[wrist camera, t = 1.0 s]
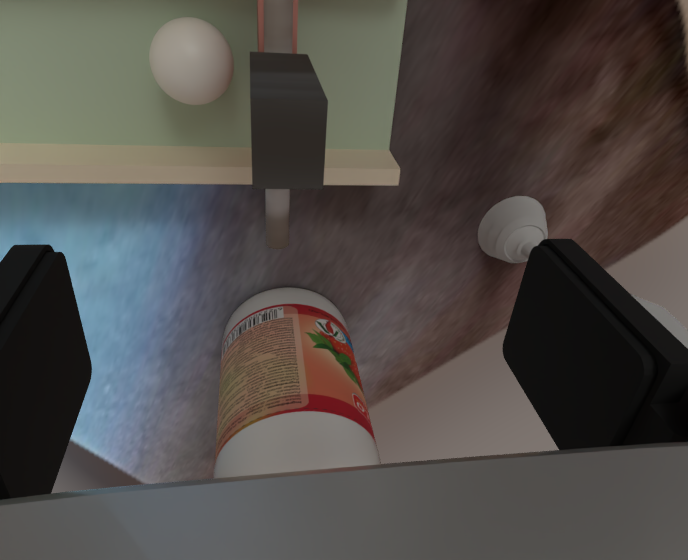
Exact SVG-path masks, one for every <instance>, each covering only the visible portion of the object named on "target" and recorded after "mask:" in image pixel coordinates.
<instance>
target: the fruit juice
mask: <svg viewBox="0 0 688 560" xmlns="http://www.w3.org/2000/svg"><path fill="white" fill-rule="evenodd" d="M378 464H381V462H380V457H379V453H378V449H377V445H376V442H375V439H374V434H373V430H372V426H371V422H370V417H369V413H368V409H367V405H366V401H365V397H364V393H363V388H362V384H361V380H360V376H359V372H358V368H357V364H356V360H355V356H354V352H353V347H352V343H351V339H350V335H349V331H348V328H347V325H346V323H345V320H344V318H343V316H342V314H341V313H340V311H339V310H338V309H337V308H336V306H335V305H334V304H333V303H332V302H330V301H329V300H328V299H326V298H325V297H323V296H322V295H320V294H318V293H315V292H313V291H310V290H306V289H301V288H292V287H285V288H276V289H271V290H267V291H264V292H261V293H259V294H257V295H255V296H253V297H251V298H249V299H248V300H246V301H245V302H244V303H242V304H241V305H240V306H239V307H238V308H237V309H236V310H235V312H234V313H233V314H232V316H231V317H230V319H229V321H228V323H227V325H226V328H225V331H224V335H223V340H222V354H221V371H220V387H219V404H218V421H217V438H216V455H215V467H214V478H225V477H236V476H248V475H259V474H271V473H282V472H293V471H305V470H317V469H329V468H341V467H353V466H366V465H378Z"/></svg>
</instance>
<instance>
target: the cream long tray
mask: <svg viewBox="0 0 688 560" xmlns="http://www.w3.org/2000/svg"><path fill="white" fill-rule="evenodd" d="M406 9H407V0H298V27H297V54H308V56H309V59H310V61H311V63H312V66H313V68H314V70H315V72H316V75H317V77H318V79H319V82H320V84H321V86H322V88H323V91H324V93H325V95H326V97H327V100H328V110H327V128H326V147H325V165H324V183H323V185H393V186H398V184H399V177H400V170H401V169H400V167H399V166H398V164H397V162H396V161H395V159H394V157H393V156H392V154H391V152H390V151H389V146H390V138H391V130H392V122H393V114H394V105H395V97H396V89H397V81H398V73H399V65H400V57H401V49H402V41H403V33H404V25H405V17H406ZM181 17H194V18H198V19H201V20H204V21H206V22H208V23H210V24H211V25H213V26H214V27H216V28H217V29H218V30H219V31H220V32H221V33H222V35H223V36H224V37H225V39H226V40H227V42H228V44H229V46H230V48H231V51H232V55H233V60H234V71H233V76H232V80H231V82H230V84H229V86H228V88H227V90H226V91H225V92H224V93H223V94H222V95H221V96H220V97H219V98H217V99H216V100H214V101H212V102H210V103H207V104H202V105H189V104H185V103H182V102H179V101H177V100H175V99H173V98H172V97H170V96H169V95H168V94H166V93H165V92H164V91H163V90H162V89H161V87H160V86H159V85H158V83H157V82H156V80H155V78H154V76H153V74H152V71H151V67H150V62H149V50H150V46H151V43H152V40H153V38H154V36H155V34H156V33H157V31H158V30H159V29H160V28H161V27H162V26H163V25H164V24H166V23H167V22H169V21H171V20H173V19H176V18H181ZM250 52H258V38H257V0H0V183H114V184H252V148H251V106H250Z"/></svg>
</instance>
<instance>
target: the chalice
mask: <svg viewBox="0 0 688 560" xmlns="http://www.w3.org/2000/svg"><path fill="white" fill-rule="evenodd" d="M545 217H546V214H545V212H544V209H543V207H542V205H541V204H540V203H539V202H538V201H537V200H535V199H533V198H530V197H528V196H514V197H511V198H507V199H504V200H503V201H501V202H499V203H497V204H495V205H494V206H493V207H492V208H491V209H490V210H489V211H488V212H487V213H486V214H485V216H484V217H483V219H482V221H481V222H480V225H479V229H478V232H477V233H478V243H479V245H480V247H481V249H482V250H483V251H484V252H485V253H486V254H488V255H489V256H492V257H495V258H498V259H501V260H504V261H506V262H509V263H521V262H525V261H528V258H529V255H530V252H531V250H532V248H533V247H535V246H538V245H539V243H540V242H541V241H542V240H544V239H547V237H548V230H547V222H546V220H545ZM631 295H632V294H631ZM632 296H633V297H634V298H635V299H636V300H637V301H638V302H639V303H640V304H641V305H642V306H643V307H644V308H645V309H646V310H647V311H648V312H650V313H651V314H652V315H653V316H654V317H655V318H656V319H657V320H658V321H659V322H660V323H661V324H662V325H663V326H664V327H665V328H666V329H667V330H669V331H670V332H671V333H672V334H673V335H674V336H675V337H676V338H677V339H678V340H679V341H680V342H681V343H682V344H683V345H684V346H685V347H686V348H688V329H686V328H685V327H684V326H683V325H682V324H681V323H680V322H679V321H678V320H677V319H676V318H674V316H672V315H671V314H670V313H669V312H668V311H667V310H666V309H665V308H664V307H663V306H660V305H657V304H655V303H652V302H650V301H647V300H645V299H642V298H640V297H637V296H635V295H632Z"/></svg>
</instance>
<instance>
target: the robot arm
mask: <svg viewBox="0 0 688 560" xmlns="http://www.w3.org/2000/svg"><path fill="white" fill-rule="evenodd" d="M503 355H504V358H505V360H506V362H507V364H508V365H509V367H510V369H511V370H512V372H513V374H514V375H515V377H516V379H517V380H518V382H519V384H520V385H521V387H522V389H523V390H524V392H525V394H526V395H527V397H528V399H529V400H530V402H531V403H532V405H533V407H534V409H535V410H536V412H537V414H538V415H539V417H540V418H541V420H542V422H543V424H544V425H545V427H546V429H547V430H548V432H549V434H550V435H551V437H552V439H553V440H554V442H555V444H556V445H557V447H558V449H559V450H555V451H542V452H529V453H517V454H504V455H490V456H477V457H464V458H452V459H441V460H427V461H414V462H402V463H390V464H378V465H366V466H353V467H341V468H329V469H317V470H305V471H293V472H282V473H271V474H259V475H248V476H236V477H225V478H213V479H202V480H190V481H179V482H168V483H156V484H145V485H134V486H124V487H113V488H103V489H92V490H82V491H72V492H62V493H53V494H51V492H52V489H53V486H54V483H55V480H56V477H57V475H58V472H59V469H60V466H61V463H62V460H63V457H64V454H65V452H66V449H67V446H68V443H69V440H70V437H71V434H72V432H73V429H74V426H75V423H76V420H77V417H78V414H79V412H80V409H81V406H82V403H83V400H84V397H85V394H86V392H87V389H88V386H89V383H90V380H91V373H92V367H91V360H90V356H89V352H88V348H87V343H86V339H85V335H84V331H83V327H82V323H81V319H80V315H79V311H78V307H77V303H76V299H75V295H74V291H73V287H72V282H71V278H70V274H69V270H68V266H67V262H66V259H65V256H64V254H63V253H62V252H54V250H53V248H52V247H51V246H50V245H14V246H13V247H12V248H11V249H10V250H9V251H8V253H7V254H6V256H5V257H4V258H3V260H2V261H1V262H0V560H688V348H686V347H685V346H684V345H683V344H682V343H681V342H680V341H679V340H678V339H677V338H676V337H675V336H674V335H673V334H672V333H671V332H670V331H669V330H667V329H666V328H665V327H664V326H663V325H662V324H661V323H660V322H659V321H658V320H657V319H656V318H655V317H654V316H653V315H652V314H651V313H650V312H648V311H647V310H646V309H645V308H644V307H643V306H642V305H641V304H640V303H639V302H638V301H637V300H636V299H635V298H634V297H633V296H632V295H631V294H629V293H628V292H627V291H626V290H625V289H624V288H623V287H622V286H621V285H620V284H619V283H618V282H617V281H616V280H615V279H614V278H613V277H611V276H610V275H609V274H608V273H607V272H606V271H605V270H604V269H603V268H602V267H601V266H600V265H599V264H598V263H597V262H596V261H595V260H594V259H593V258H591V257H590V256H589V255H588V254H587V253H586V252H585V251H584V250H583V249H582V248H581V247H580V246H579V245H578V244H577V243H576V242H575V241H573V240H572V239H544V240H542V241H541V242H540V243H539V245H538V246H535V247H533V248H532V250H531V252H530V255H529V258H528V262H527V265H526V268H525V272H524V275H523V278H522V282H521V285H520V288H519V292H518V295H517V299H516V302H515V305H514V309H513V312H512V315H511V319H510V322H509V325H508V329H507V332H506V335H505V339H504V343H503Z"/></svg>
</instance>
